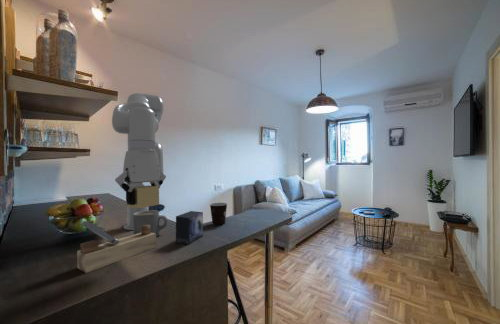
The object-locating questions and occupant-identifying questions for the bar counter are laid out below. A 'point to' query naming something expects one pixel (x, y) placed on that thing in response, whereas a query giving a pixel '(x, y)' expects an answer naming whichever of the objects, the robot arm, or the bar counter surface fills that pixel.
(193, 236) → the small box
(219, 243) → the bar counter surface
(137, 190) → the olive cube-like block
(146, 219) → the coffee mug
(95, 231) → the lever
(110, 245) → the wooden block plane
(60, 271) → the bar counter surface
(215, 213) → the coffee mug
